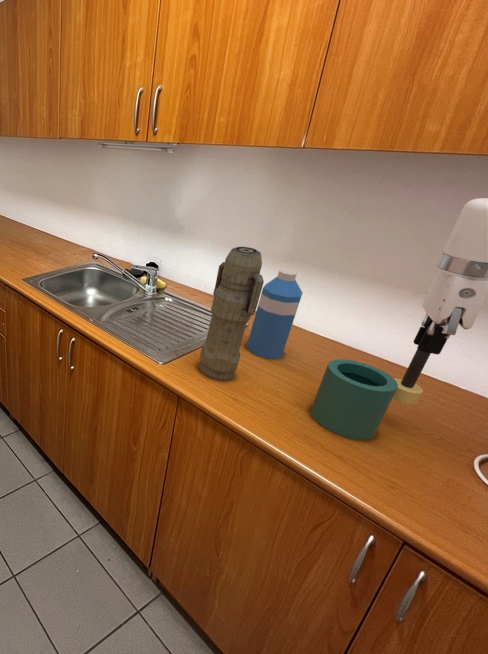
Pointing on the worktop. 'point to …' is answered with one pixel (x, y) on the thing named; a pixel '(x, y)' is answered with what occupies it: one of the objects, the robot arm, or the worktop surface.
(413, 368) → the joystick
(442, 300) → the robot arm
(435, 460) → the worktop surface
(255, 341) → the water bottle
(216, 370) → the thermos
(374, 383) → the teal hollow cylinder
